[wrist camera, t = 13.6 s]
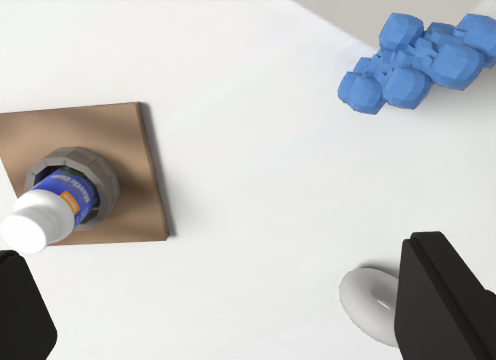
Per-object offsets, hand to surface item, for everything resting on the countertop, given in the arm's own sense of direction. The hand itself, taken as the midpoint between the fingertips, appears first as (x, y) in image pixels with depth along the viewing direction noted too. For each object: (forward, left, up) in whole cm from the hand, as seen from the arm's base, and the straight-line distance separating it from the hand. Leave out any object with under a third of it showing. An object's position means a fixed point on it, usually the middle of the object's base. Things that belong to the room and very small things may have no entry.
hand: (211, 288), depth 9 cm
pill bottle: (-9, +20, -27) cm, 35 cm away
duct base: (-9, +20, -28) cm, 36 cm away
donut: (-24, -12, -28) cm, 39 cm away
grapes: (+2, -12, -28) cm, 31 cm away
